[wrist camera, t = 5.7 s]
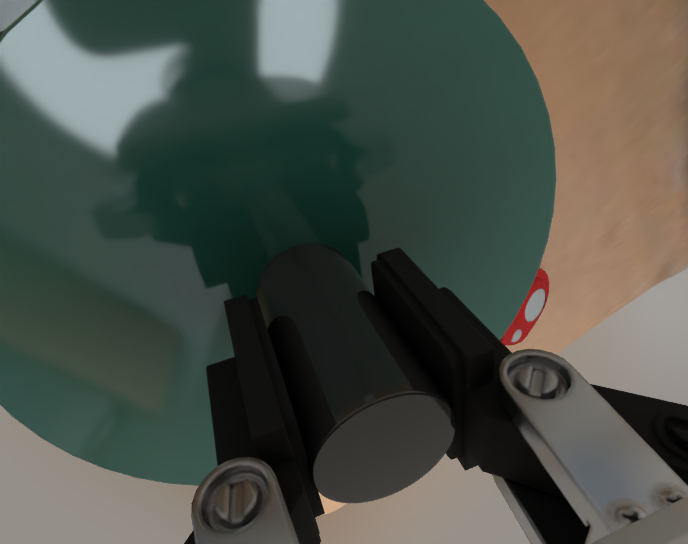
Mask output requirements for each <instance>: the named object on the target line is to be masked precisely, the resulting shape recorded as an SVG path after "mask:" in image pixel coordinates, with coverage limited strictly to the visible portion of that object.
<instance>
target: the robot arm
mask: <svg viewBox="0 0 688 544" xmlns="http://www.w3.org/2000/svg"><path fill="white" fill-rule="evenodd" d="M371 271H372V279H373V287H374V296H375V298H376V299H377V301H378V302H379V303H380V305H381V306H382V308H383V309H384V311H385V312H386V313H387V315H388V316H389V318H390V319H391V320H392V322H393V323H394V325H395V326H396V327H397V329H398V330H399V332H400V333H401V335H402V336H403V337H404V339H405V340H406V342H407V343H408V344H409V346H410V347H411V349H412V350H413V352H414V353H415V354H416V356H417V357H418V359H419V360H420V361H421V363H422V364H423V366H424V367H425V369H426V370H427V371H428V373H429V374H430V376H431V377H432V378H433V380H434V381H435V383H436V384H437V385H438V387H439V388H440V390H441V391H442V393H443V394H444V395H445V397H446V398H447V400H448V401H449V402H450V404H451V405H452V407H453V409H454V412H455V415H456V423H457V424H456V432H455V435H454V438H453V441H452V443H451V445H450V447H449V449H448V450H447V452H446V454H447V456H448V457H449V458H450V459H454V458H458V460H459V461H460V463H461V465H462V466H463V468H464V469H465V470H468V469H470V468H473V467H475V466H477V465H479V467H480V468H481V470H482V471H483V472H487V473H490V474H492V476H493V478H494V480H495V483H496V485H497V486H498V488H499V490H500V491H501V493H502V495H503V496H504V498H505V500H506V502H507V503H508V505H509V507H510V509H511V510H512V512H513V514H514V515H515V517H516V519H517V521H518V522H519V524H520V526H521V528H522V529H523V531H524V532H525V534H526V536H527V538H528V539H529V541H530V543H531V544H688V406H686V405H682V404H677V403H673V402H668V401H664V400H659V399H655V398H650V397H646V396H641V395H636V394H633V393H628V392H624V391H619V390H615V389H610V388H606V387H601V386H597V385H592V384H589V383H588V382H587V381H586V380H585V379H584V378H583V376H582V375H581V374H580V373H579V372H577V370H576V369H575V368H574V367H573V366H572V365H571V364H570V363H568V362H567V361H566V360H565V359H563V358H561V357H559V356H557V355H555V354H553V353H551V352H547V351H543V350H536V349H525V350H519V351H516V352H514V353H511V352H510V351H509V350H508V348H507V347H506V346H505V345H504V344H503V343H502V342H501V341H500V340H499V339H498V338H497V337H496V336H495V335H494V334H493V333H492V332H491V331H490V330H489V329H488V328H487V327H486V326H485V325H484V324H483V323H482V322H481V321H480V320H479V319H478V318H477V317H476V316H475V315H474V314H473V313H472V312H471V311H470V310H469V309H468V308H467V307H466V305H465V304H464V303H463V302H462V301H461V300H460V299H459V298H458V297H457V296H456V295H455V294H454V293H453V292H452V291H451V290H449V289H448V288H446V287H442V288H438V287H437V286H436V285H435V284H434V283H433V282H432V281H431V280H430V279H429V278H428V277H427V276H426V275H425V274H424V272H423V271H422V270H421V269H420V268H419V267H418V266H417V265H416V264H415V263H414V262H413V261H412V260H411V259H410V258H409V257H408V255H407V254H406V253H405V252H404V251H403V250H402V249H401V248H395V249H392V250H388V251H385V252H382V253H379V254H377V260H376V261H372V262H371ZM224 306H225V311H226V316H227V321H228V326H229V330H230V335H231V340H232V345H233V350H234V355H235V357H232V358H229V359H226V360H223V361H220V362H217V363H214V364H211V365H208V366H207V367H206V373H207V382H208V390H209V398H210V407H211V415H212V424H213V432H214V440H215V449H216V457H217V465H218V467H216V468H214V469H213V470H212V471H211V472H210V473H209V474H208V475H207V476H206V477H205V478H204V479H203V481H202V482H201V484H200V485H199V487H198V488H197V490H196V493H195V496H194V499H193V502H192V524H193V532H192V533H191V534H190V536H189V537H188V539H187V540H186V542H185V543H184V544H320V542H321V539H320V536H319V529H318V526H317V523H316V519H315V517H317V516H320V515H322V514H324V513H325V512H324V509H323V506H322V503H321V499H320V496H319V493H318V491H317V489H316V488H315V487H314V485H313V483H312V481H311V478H310V473H309V460H308V457H307V453H306V450H305V447H304V444H303V440H302V437H301V434H300V430H299V427H298V424H297V421H296V418H295V414H294V411H293V408H292V405H291V402H290V399H289V395H288V392H287V389H286V386H285V383H284V380H283V377H282V373H281V370H280V367H279V364H278V361H277V358H276V354H275V351H274V348H273V345H272V342H271V339H270V336H269V332H268V329H267V326H266V323H265V320H264V317H263V314H262V310H261V307H260V304H259V301H258V298H257V297H256V298H253V299H250V300H248V297H247V294H245V295H242V296H239V297H235V298H232V299H229V300H225V301H224Z"/></svg>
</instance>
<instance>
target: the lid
mask: <svg viewBox="0 0 688 544" xmlns="http://www.w3.org/2000/svg"><path fill="white" fill-rule="evenodd" d="M555 188H556V164H555V146H554V140H553V135H552V129H551V123H550V118H549V113H548V110H547V107H546V104H545V101H544V98H543V95H542V92H541V89H540V86H539V82H538V80H537V78H536V76H535V74H534V72H533V70H532V68H531V66H530V64H529V62H528V60H527V58H526V56H525V54H524V52H523V50H522V48H521V47H520V45H519V44H518V42H517V41H516V40H515V38H514V37H513V35H512V34H511V33H510V31H509V30H508V28H507V27H506V26H505V24H504V23H503V21H502V20H501V19H500V17H499V16H498V14H497V13H496V12H495V11H494V10H493V9H492V8H491V7H490V6H489V5H488V4H487V3H486V2H485V1H484V0H37V1H36V2H35V3H34V4H33V5H32V6H31V7H30V8H29V9H27V10H26V11H25V12H24V13H23V14H22V15H21V16H20V17H19V18H17V19H16V20H15V21H14V22H13V23H12V24H11V25H10V26H9V27H8V28H6V29H5V31H4V32H3V33H2V34H1V36H0V405H1V406H2V407H3V408H4V409H5V410H6V411H7V412H8V413H9V414H10V415H11V416H12V417H14V418H15V419H17V420H18V421H19V422H20V423H22V424H23V425H24V426H26V427H27V428H28V429H30V430H31V431H33V432H34V433H35V434H37V435H38V436H39V437H41V438H42V439H44V440H46V441H47V442H49V443H51V444H53V445H55V446H56V447H58V448H60V449H62V450H64V451H65V452H67V453H69V454H71V455H72V456H75V457H77V458H80V459H82V460H85V461H87V462H89V463H92V464H94V465H97V466H99V467H102V468H104V469H108V470H111V471H114V472H118V473H122V474H125V475H129V476H132V477H135V478H140V479H146V480H152V481H157V482H163V483H169V484H181V485H194V486H199V485H200V484H201V482H202V481H203V479H204V478H205V477H206V476H207V475H208V474H209V473H210V472H211V471H212V470H213V469H214V468H216V467H218V465H217V457H216V449H215V440H214V432H213V424H212V415H211V407H210V398H209V390H208V382H207V373H206V367H207V366H208V365H211V364H214V363H217V362H220V361H223V360H226V359H229V358H232V357H235V355H234V350H233V345H232V340H231V335H230V330H229V326H228V321H227V316H226V311H225V306H224V301H225V300H229V299H232V298H235V297H239V296H242V295H245V294H247V297H248V300H250V299H253V298H256V297H257V298H258V301H259V304H260V307H261V310H262V314H263V317H264V320H265V323H266V326H267V329H268V332H269V336H270V339H271V342H272V345H273V348H274V351H275V354H276V358H277V361H278V364H279V367H280V370H281V373H282V377H283V380H284V383H285V386H286V389H287V392H288V395H289V399H290V402H291V405H292V408H293V411H294V414H295V418H296V421H297V424H298V427H299V430H300V434H301V437H302V440H303V444H304V447H305V450H306V453H307V457H308V460H309V473H310V478H311V481H312V483H313V485H314V487H315V488H316V489H317V491H318V492H319V493H321V494H322V495H323V496H324V497H326V498H328V499H330V500H333V501H336V502H341V503H363V502H369V501H374V500H378V499H380V498H384V497H387V496H389V495H392V494H394V493H396V492H399V491H401V490H403V489H404V488H406V487H408V486H410V485H411V484H413V483H414V482H416V481H417V480H419V479H420V478H422V477H423V476H424V475H425V474H426V473H428V472H429V471H430V470H431V469H432V468H433V467H434V466H435V465H436V464H437V463H438V462H439V461H440V460H441V458H442V457H443V456H444V455H445V453H446V452H447V450H448V449H449V447H450V445H451V443H452V441H453V438H454V435H455V432H456V424H457V423H456V415H455V412H454V409H453V407H452V405H451V404H450V402H449V401H448V400H447V398H446V397H445V395H444V394H443V393H442V391H441V390H440V388H439V387H438V385H437V384H436V383H435V381H434V380H433V378H432V377H431V376H430V374H429V373H428V371H427V370H426V369H425V367H424V366H423V364H422V363H421V361H420V360H419V359H418V357H417V356H416V354H415V353H414V352H413V350H412V349H411V347H410V346H409V344H408V343H407V342H406V340H405V339H404V337H403V336H402V335H401V333H400V332H399V330H398V329H397V327H396V326H395V325H394V323H393V322H392V320H391V319H390V318H389V316H388V315H387V313H386V312H385V311H384V309H383V308H382V306H381V305H380V303H379V302H378V301H377V299H376V298H375V296H374V287H373V279H372V271H371V262H372V261H376V260H377V254H379V253H382V252H385V251H388V250H392V249H395V248H401V249H402V250H403V251H404V252H405V253H406V254H407V255H408V257H409V258H410V259H411V260H412V261H413V262H414V263H415V264H416V265H417V266H418V267H419V268H420V269H421V270H422V271H423V272H424V274H425V275H426V276H427V277H428V278H429V279H430V280H431V281H432V282H433V283H434V284H435V285H436V286H437V287H438V288H442V287H446V288H448V289H449V290H451V291H452V292H453V293H454V294H455V295H456V296H457V297H458V298H459V299H460V300H461V301H462V302H463V303H464V304H465V305H466V307H467V308H468V309H469V310H470V311H471V312H472V313H473V314H474V315H475V316H476V317H477V318H478V319H479V320H480V321H481V322H482V323H483V324H484V325H485V326H486V327H487V328H488V329H489V330H490V331H491V332H492V333H493V334H494V335H495V336H496V337H497V338H498V339H499V340H501V338H502V337H503V335H504V334H505V333H506V331H507V330H508V328H509V327H510V325H511V324H512V322H513V321H514V319H515V317H516V315H517V313H518V312H519V310H520V308H521V306H522V304H523V302H524V301H525V299H526V297H527V295H528V293H529V291H530V288H531V286H532V284H533V281H534V279H535V277H536V274H537V272H538V270H539V267H540V264H541V260H542V257H543V254H544V251H545V248H546V245H547V241H548V237H549V232H550V227H551V222H552V217H553V212H554V200H555Z"/></svg>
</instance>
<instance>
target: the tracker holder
mask: <svg viewBox="0 0 688 544" xmlns="http://www.w3.org/2000/svg"><path fill="white" fill-rule="evenodd" d="M548 293H549V280H548V276H547V274H546V272H545V271H544V270H542V269H539V270H538V272H537V274H536V277H535V279H534V281H533V284H532V286H531V288H530V291H529V293H528V295H527V297H526V299H525V301H524V302H523V304H522V306H521V308H520V310H519V312H518V313H517V315H516V317H515V319H514V321H513V322H512V324H511V325H510V327H509V328H508V330H507V331H506V333H505V334H504V335H503V337H502V338H501V340H500V341H501V342H502V343H503V344H504V345H515V344H517V343H520V342H521V341H523V340H524V339H525V337H526V336H527V335H528V333H529V332H530V330H531V329H532V328H533V326H534V325H535V323H536V321H537V320H538V318H539V316H540V315H541V313H542V311H543V309H544V307H545V304H546V301H547V298H548Z"/></svg>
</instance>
